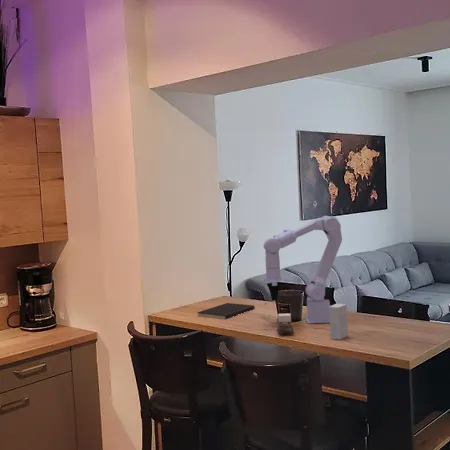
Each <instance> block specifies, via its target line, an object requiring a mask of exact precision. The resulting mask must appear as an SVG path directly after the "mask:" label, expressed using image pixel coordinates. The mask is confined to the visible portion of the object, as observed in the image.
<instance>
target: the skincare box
mask: <svg viewBox="0 0 450 450" xmlns="http://www.w3.org/2000/svg"><path fill="white" fill-rule="evenodd" d="M347 312H348V310H347V304H345V303H335V304H332V305H330V306H329V318H330V322H329V332H330V336H329V337H330V339H331V340H338V339H339V340H340V339H341V340H343V339H345V338H346V337H349V332H348V331H349V330H348V328H349V327H348V314H347ZM339 340H338V341H339Z"/></svg>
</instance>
